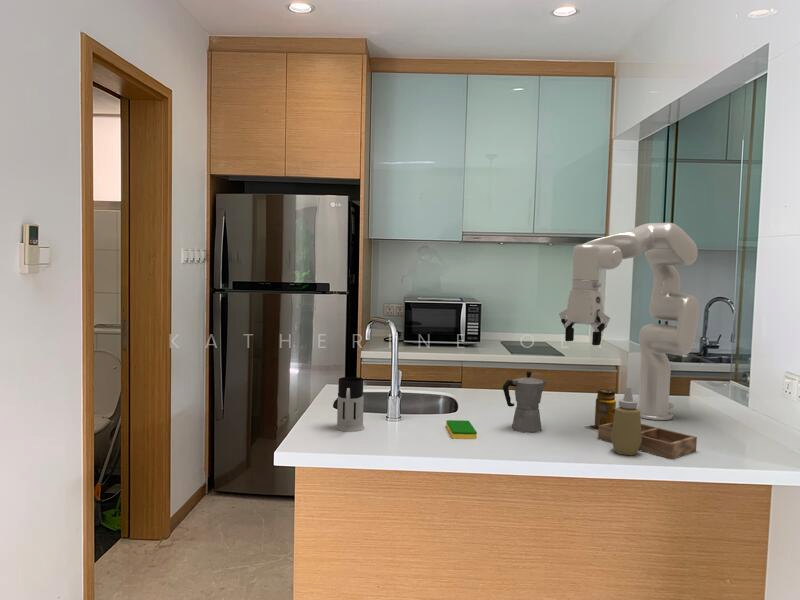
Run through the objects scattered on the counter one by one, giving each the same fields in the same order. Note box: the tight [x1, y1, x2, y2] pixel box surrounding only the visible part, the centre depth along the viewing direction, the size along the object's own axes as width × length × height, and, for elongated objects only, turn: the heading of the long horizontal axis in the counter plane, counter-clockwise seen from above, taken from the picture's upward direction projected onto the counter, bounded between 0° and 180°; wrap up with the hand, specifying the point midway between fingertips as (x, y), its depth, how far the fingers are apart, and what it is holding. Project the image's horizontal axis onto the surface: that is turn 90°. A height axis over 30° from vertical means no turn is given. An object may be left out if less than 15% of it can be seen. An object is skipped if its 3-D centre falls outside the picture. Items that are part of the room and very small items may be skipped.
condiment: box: [584, 388, 617, 432], centre depth 203 cm, size 7×8×12 cm
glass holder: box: [335, 376, 365, 433], centre depth 193 cm, size 9×14×15 cm, turn 179°
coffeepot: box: [502, 371, 548, 434], centre depth 199 cm, size 15×9×18 cm, turn 110°
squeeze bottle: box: [611, 387, 642, 456], centre depth 177 cm, size 8×8×18 cm
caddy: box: [597, 422, 698, 460], centre depth 186 cm, size 13×23×4 cm, turn 38°
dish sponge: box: [445, 419, 478, 440], centre depth 195 cm, size 7×14×2 cm, turn 4°
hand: (582, 343), depth 194 cm, fingers open, 9 cm apart
